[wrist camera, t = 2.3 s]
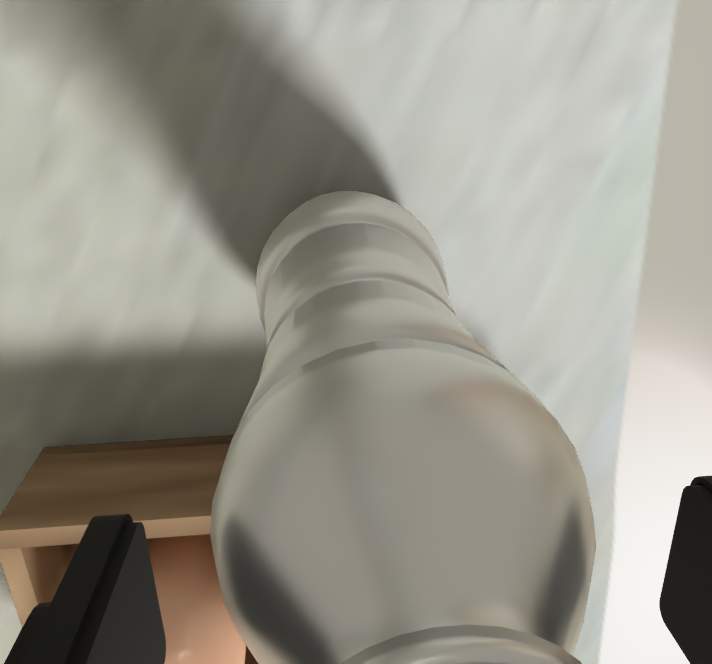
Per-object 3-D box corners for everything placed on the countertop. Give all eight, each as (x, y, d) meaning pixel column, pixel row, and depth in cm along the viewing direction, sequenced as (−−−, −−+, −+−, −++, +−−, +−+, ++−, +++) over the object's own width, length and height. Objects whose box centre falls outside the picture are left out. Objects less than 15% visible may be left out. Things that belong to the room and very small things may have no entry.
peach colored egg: (115, 510, 27) (58, 653, 21) (248, 501, 27) (232, 639, 21) (137, 607, 29) (91, 763, 23) (259, 597, 30) (248, 748, 23)
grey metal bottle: (297, 367, 26) (292, 1146, 7) (231, 210, 23) (-35, 841, 5) (451, 315, 25) (836, 1005, 7) (401, 150, 23) (832, 583, 4)
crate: (44, 447, 26) (-10, 531, 22) (529, 416, 28) (575, 489, 23) (97, 647, 31) (62, 750, 26) (509, 612, 32) (544, 705, 28)
